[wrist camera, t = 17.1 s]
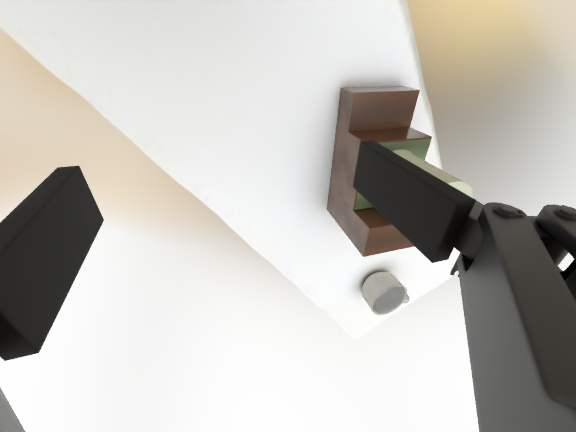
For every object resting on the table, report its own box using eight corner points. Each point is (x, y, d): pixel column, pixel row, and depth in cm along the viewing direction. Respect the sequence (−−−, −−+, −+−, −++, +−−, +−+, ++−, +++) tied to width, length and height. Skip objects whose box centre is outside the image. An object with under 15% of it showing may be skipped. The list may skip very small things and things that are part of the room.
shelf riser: (340, 88, 44) (397, 108, 32) (402, 86, 47) (476, 103, 34) (326, 209, 57) (363, 256, 45) (375, 202, 60) (422, 244, 48)
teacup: (350, 288, 76) (364, 311, 69) (375, 261, 72) (392, 283, 66) (379, 297, 83) (394, 319, 77) (403, 273, 79) (421, 294, 73)
